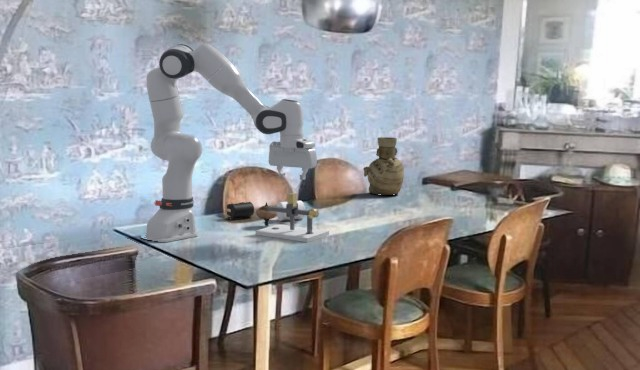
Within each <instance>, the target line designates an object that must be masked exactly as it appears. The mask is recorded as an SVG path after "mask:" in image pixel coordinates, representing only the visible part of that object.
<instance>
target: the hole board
mask: <svg viewBox="0 0 640 370" xmlns="http://www.w3.org/2000/svg"><path fill="white" fill-rule="evenodd" d="M255 235H256V236H262V237H271V238H275V239H283V240H291V241H296V242H304V243H309V242H312V241H315V240H318V239H320V238H324V237H327V236H329V235H330V230H323V229H318V228H317V229H316V228H312V233H307V227H300V226H295V225H294V230H290V225H287V224H274V225H272V226H266V227H264V228H260V229H258V230H255Z"/></svg>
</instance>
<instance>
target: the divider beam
mask: <svg viewBox="0 0 640 370" xmlns="http://www.w3.org/2000/svg"><path fill="white" fill-rule="evenodd" d="M268 206H269V207H268V211H275V212H276V213H277V212H283V213H286V208H283V207H277V206H274V205H268ZM293 214H299V215H304V216H306V228H307V233H312V229H313V219H316V218H318V217H319V215H320V212H319V210H318V209H317V208H310V209H309V210H307V209H305V210H300V209H293Z"/></svg>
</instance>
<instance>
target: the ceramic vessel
mask: <svg viewBox="0 0 640 370" xmlns="http://www.w3.org/2000/svg"><path fill="white" fill-rule="evenodd" d="M397 141H398V140H397V138H396V137H390V136H389V137H383V136H381V137H377V145H378V148H376V153H375V155H376V157H378V158H376V159H375V160H373V161H371V162H370V164H369V166H364V167H363V176H364V177H367V180H368V183H369V186H368V192H369V194H371V193H373V194H372V195H374V194H381V195H393V194H397V195H398V194H399V193H400V191H401V189H402V187H403V184H404V179H405V170H404V169H405V168H404V165H403V163H402V161H401V160H400V159H399V158H397V157H396V156H397V154H398V148H397V147H396V145H397V143H398V142H397Z"/></svg>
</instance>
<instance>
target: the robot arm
mask: <svg viewBox="0 0 640 370" xmlns="http://www.w3.org/2000/svg"><path fill="white" fill-rule="evenodd" d="M158 65H159V67H156V68H153V69H151V70H150V71H149V72H148V73H147V75H146V90H147V96H148V100H149V105H150V110H151V114H152V117H153V122H154V123H153V124H154V125H153V130H154V131H153V137H152V139H151V141H150V149H151V152H152V154H154V157H155V156H156V157H157V158H159V159H161V160H162V161H167V162H168V164H167V169H166V172H165V174H164V175H163V176H162V181H161V183H162V184H161V186H162V187H161V188H162V197H161V200H157V199H156V200H155V201H154V202H153V203H154V205H155V206H159V209H158V210H157V211H156V212H155V213H154V215H152V217H150V219H149V220H148V221H147V223H146V232H145V234H146V235H145V236H146V237H144V238H147V239H149V240H154V241H158V242H157V243H167V242H168V243H169V242H175V241H178V240H184V239H189V238H195V237H198V236H199V235H198V231H197V227H196V221H195V214H194V210H193V207H194V197H193V174H194V169H195V166H196V163H197V161H198V160H199V159H200V158H201V155H202V152H203V145H202V143H201V141H200V140H199V139H198V138H197V137H195V136H193V135H192V134H188V133H182V132H181V121H182V119H183V117H184V110H183V107H182V102H181V98H180V94H179V90H178V79H182V78H183V77H185V76H187V75H189V74H191V73H193V72H196V73H198V74H199V75H201V76H202V77H203V79H205V80H206V82H208V83H209V84H210V85H211V86H212V87H214V89H216V90H217V91H218V92H220V93H221V94H223V95H224V96H225V95H226V96H228V97H230V98H232V99H233V100H234V101H236V102H237V103H238V104H239V105H240V106H241V108H242V109H244V110H245V111H246V112H247V113H248V114H249V115H250V116H251V119H252V121H253V123H254V126H255V127H256V129H257V130H258V131H259V132H260V133H261V134H264V135H273V134H276V133H279V141H272V142H271V143H270V144H269V152H268V164H269V165H270V166H273V167H276V170H277V173H278V174H279V175H278V176H279V179H285V178H286V172H284V171H283V169H284V167H285V168H298V169H301V171H302V174H299V180H302V181H304V180H306V179H307V177H306V176H307V174H308V171H309V169H314V168H316V166H317V164H318V163H317V162H318V161H317V151H316V149H315V147H316V143H315V141H313V140H311V139H308V138H306V137H304V132H303V126H304V111H303V106H302V104H301V103H300V102H299V101H297V100H294V99H288V98H283V99H281V100H280V101H278V102H277V103H276V104H273V105H272V106H267V105H265V104H263V103H262V102H261V101H260V100H259V99H258V98H257V97H256V96H255V95H254V94H253V92H251V91H250V90H249V89H248V87H247V86H246V84H245V82H244V80H243V78H242V76H241V74H240V72H239V71H238V69H237V68H236V67H235V65H234V64H233V63H232V62H231V61H230V60H229V59H228V58H227V56H225V55H224V54H223V53H222V52H220V51H219V50H218V49H217V48H215V47H214V46H213V45H211V44H208V43H204V44H200V45H199V46H197V47H196V48H195V49H193V48H192V47H190V46H189V45H187V44H182V43H181V44H176V45H173V46H171V47H170V46H169V48H168V49H167V50H166V51H164V52H163V53H162V54H161V56H160V58H159V62H158ZM154 241H153V242H154Z"/></svg>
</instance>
